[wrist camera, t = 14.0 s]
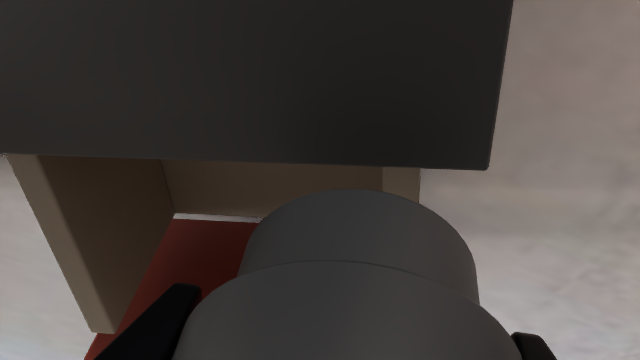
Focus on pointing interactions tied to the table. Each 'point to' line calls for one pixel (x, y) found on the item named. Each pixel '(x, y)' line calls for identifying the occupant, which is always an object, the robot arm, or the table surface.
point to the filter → (348, 288)
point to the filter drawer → (165, 221)
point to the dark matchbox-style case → (255, 80)
